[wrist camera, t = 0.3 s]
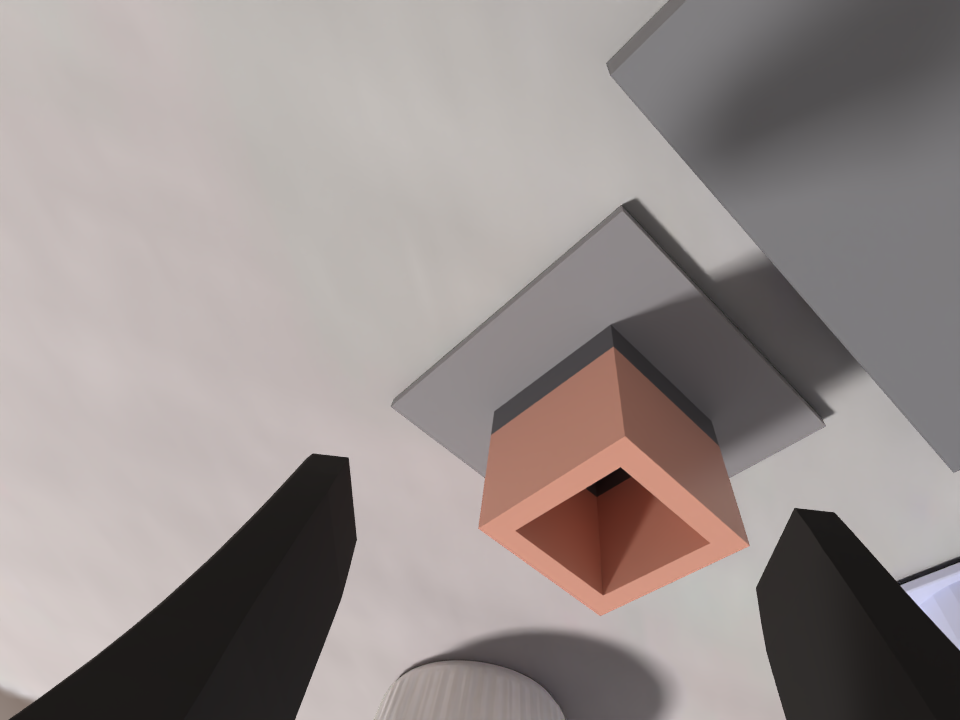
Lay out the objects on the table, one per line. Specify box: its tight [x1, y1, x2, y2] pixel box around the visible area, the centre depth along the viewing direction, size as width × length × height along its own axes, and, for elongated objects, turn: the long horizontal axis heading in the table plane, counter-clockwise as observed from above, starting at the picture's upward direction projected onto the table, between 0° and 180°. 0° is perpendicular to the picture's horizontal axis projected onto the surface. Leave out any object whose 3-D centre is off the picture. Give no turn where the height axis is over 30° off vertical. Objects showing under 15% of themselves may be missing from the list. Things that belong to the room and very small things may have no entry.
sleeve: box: [478, 325, 750, 616], centre depth 19 cm, size 5×5×5 cm
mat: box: [391, 205, 826, 478], centre depth 21 cm, size 10×10×1 cm
